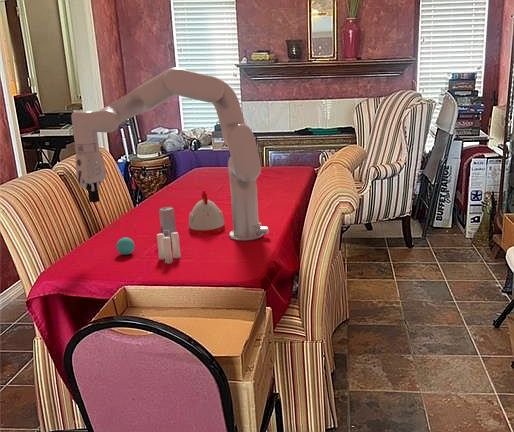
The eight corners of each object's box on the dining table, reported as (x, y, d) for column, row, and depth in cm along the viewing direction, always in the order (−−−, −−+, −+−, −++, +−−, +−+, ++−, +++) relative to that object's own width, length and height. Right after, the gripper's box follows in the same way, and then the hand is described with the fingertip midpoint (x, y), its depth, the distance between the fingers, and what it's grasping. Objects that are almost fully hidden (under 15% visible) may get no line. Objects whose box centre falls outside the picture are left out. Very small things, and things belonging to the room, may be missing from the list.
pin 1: (173, 261, 184) (171, 237, 182) (170, 264, 182) (167, 239, 180) (167, 260, 185) (165, 236, 183) (163, 263, 183) (161, 238, 181)
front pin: (167, 257, 188) (165, 233, 186) (163, 260, 186) (161, 235, 184) (161, 257, 189) (159, 233, 187) (157, 259, 187) (155, 235, 185)
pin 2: (181, 256, 189) (179, 232, 186) (178, 258, 186) (175, 234, 184) (175, 255, 190) (173, 231, 187) (172, 258, 187) (169, 234, 185)
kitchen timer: (192, 236, 210) (188, 197, 206) (186, 226, 223) (183, 189, 218) (228, 231, 213) (225, 193, 209) (220, 222, 226) (218, 185, 222)
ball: (138, 252, 195) (136, 235, 193) (128, 258, 190) (126, 241, 188) (124, 250, 197) (122, 234, 196) (114, 256, 192) (111, 239, 190)
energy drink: (169, 236, 210) (166, 205, 207) (179, 238, 207) (176, 207, 204) (159, 240, 206) (155, 209, 203) (168, 242, 203) (165, 211, 200)
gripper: (80, 152, 178) (88, 208, 183) (110, 145, 191) (117, 197, 196) (62, 151, 181) (70, 206, 186) (93, 144, 194) (100, 195, 199)
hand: (94, 201), depth 191 cm, fingers closed
